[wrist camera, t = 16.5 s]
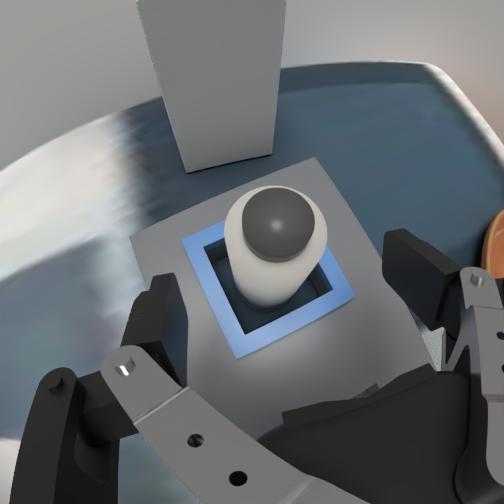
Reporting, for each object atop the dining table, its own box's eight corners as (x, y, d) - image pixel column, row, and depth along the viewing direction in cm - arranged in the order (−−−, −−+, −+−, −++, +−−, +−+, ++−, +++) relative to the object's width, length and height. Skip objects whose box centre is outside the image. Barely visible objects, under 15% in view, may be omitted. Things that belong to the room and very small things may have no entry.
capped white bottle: (252, 322, 19) (253, 295, 9) (225, 269, 20) (204, 197, 11) (305, 295, 20) (354, 242, 10) (277, 244, 21) (297, 158, 11)
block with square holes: (287, 529, 14) (292, 552, 10) (141, 249, 20) (124, 232, 17) (444, 434, 16) (468, 442, 13) (308, 175, 23) (316, 150, 19)
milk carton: (186, 175, 23) (119, -66, 5) (176, 116, 25) (132, -73, 7) (272, 156, 23) (294, -85, 5) (250, 101, 25) (250, -89, 7)
